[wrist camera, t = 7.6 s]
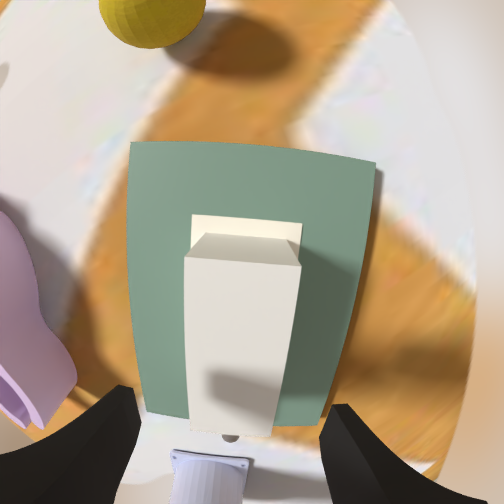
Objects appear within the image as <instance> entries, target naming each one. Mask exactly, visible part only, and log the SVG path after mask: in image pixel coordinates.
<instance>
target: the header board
mask: <svg viewBox="0 0 504 504" xmlns="http://www.w3.org/2000/svg"><path fill="white" fill-rule="evenodd" d="M375 168H376V163H375V162H370V161H365V160H360V159H355V158H350V157H344V156H339V155H333V154H326V153H320V152H313V151H306V150H299V149H291V148H282V147H273V146H262V145H251V144H238V143H221V142H194V141H148V142H131V145H130V156H129V169H128V187H127V266H128V284H129V297H130V309H131V318H132V327H133V336H134V343H135V350H136V357H137V363H138V369H139V375H140V381H141V386H142V391H143V396H144V401H145V405H146V410H147V412H151V413H156V414H161V415H167V416H172V417H178V418H184V419H189V407H188V394H187V378H186V359H185V332H184V257H185V255H186V254H187V253H188V252H189V251H190V250H191V248H192V247H193V246H194V245H195V244H196V243H197V241H198V240H199V239H200V238H201V237H202V236H203V235H204V233H205V232H206V233H219V234H232V235H244V236H256V237H268V238H279V239H286V240H287V242H288V243H289V245H290V247H291V249H292V250H293V252H294V254H295V256H296V257H297V259H298V261H299V263H300V264H301V266H302V268H301V275H300V282H299V288H298V295H297V301H296V308H295V314H294V320H293V326H292V332H291V337H290V343H289V349H288V354H287V359H286V365H285V370H284V375H283V380H282V385H281V390H280V395H279V400H278V404H277V409H276V414H275V418H274V423H273V426H313V425H317V424H318V422H319V419H320V416H321V414H322V411H323V408H324V405H325V403H326V400H327V397H328V394H329V391H330V388H331V385H332V382H333V379H334V376H335V372H336V369H337V366H338V363H339V359H340V356H341V352H342V349H343V345H344V342H345V338H346V334H347V330H348V327H349V323H350V319H351V315H352V310H353V306H354V302H355V297H356V293H357V288H358V284H359V279H360V274H361V269H362V263H363V258H364V252H365V247H366V241H367V234H368V228H369V221H370V214H371V206H372V198H373V189H374V179H375Z"/></svg>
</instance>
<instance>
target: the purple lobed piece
mask: <svg viewBox="0 0 504 504" xmlns="http://www.w3.org/2000/svg"><path fill="white" fill-rule="evenodd" d="M76 383H77V371H76V367H75V365H74V362H73V360H72V358H71V356H70V354H69V353H68V351H67V349H66V348H65V346H64V345H63V344H62V342H61V341H60V340H59V339H58V338H57V337H56V335H55V334H54V333H53V332H52V331H51V330H50V329H49V327H48V326H47V324H46V323H45V321H44V319H43V317H42V314H41V311H40V306H39V292H38V284H37V279H36V274H35V270H34V267H33V263H32V260H31V257H30V254H29V251H28V249H27V246H26V244H25V242H24V240H23V238H22V236H21V234H20V232H19V230H18V229H17V227H16V226H15V224H14V223H13V222H12V220H11V219H10V218H9V217H8V216H7V215H6V214H5V213H3V212H2V211H0V409H1V410H2V411H3V412H4V413H5V414H6V415H7V416H8V417H9V418H10V419H12V420H13V421H14V422H15V423H17V424H18V425H19V426H21V427H22V428H24V429H26V428H27V427H28V425H29V424H30V423H31V421H32V422H33V423H34V424H35V425H36V426H37V427H39V428H40V429H44V428H45V426H46V425H47V423H48V422H49V421H50V419H51V418H52V416H53V415H54V413H55V412H56V411H57V409H58V408H59V406H60V405H61V404H62V402H63V401H64V400H65V398H66V397H67V395H68V394H69V393H70V391H71V390H72V389H73V387H74V386H75V385H76Z"/></svg>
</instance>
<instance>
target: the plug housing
mask: <svg viewBox="0 0 504 504" xmlns="http://www.w3.org/2000/svg"><path fill="white" fill-rule="evenodd" d="M301 268H302V266H301V264H300V263H299V261H298V259H297V257H296V256H295V254H294V252H293V250H292V249H291V247H290V245H289V243H288V242H287V240H286V239H279V238H268V237H256V236H244V235H232V234H219V233H206V232H205V233H204V235H203V236H202V237H201V238H200V239H199V240H198V241H197V243H196V244H195V245H194V246H193V247H192V248H191V250H190V251H189V252H188V253H187V254H186V255H185V257H184V332H185V359H186V378H187V394H188V407H189V419H190V429H191V431H198V432H206V433H215V434H222V438H223V439H224V440H225V441H226V442H229V443H232V442H235V441H237V440H238V438H239V436H256V437H270V436H271V431H272V427H273V423H274V418H275V414H276V409H277V404H278V400H279V395H280V390H281V385H282V380H283V375H284V370H285V365H286V359H287V354H288V349H289V343H290V337H291V332H292V326H293V320H294V314H295V308H296V301H297V295H298V288H299V282H300V275H301Z"/></svg>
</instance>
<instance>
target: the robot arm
mask: <svg viewBox="0 0 504 504" xmlns="http://www.w3.org/2000/svg"><path fill="white" fill-rule="evenodd" d="M141 423H142V422H141V419H140V415H139V411H138V407H137V403H136V399H135V394H134V390H133V388H130V387H126V386H122V385H117V386H116V387H115V388H114V389H112V390H111V391H110V392H109V393H107V394H106V395H105V396H104V397H103V398H101V399H100V400H99V401H98V402H97V403H95V404H94V405H93V406H92V407H90V408H89V409H88V410H87V411H85V412H84V413H83V414H81V415H80V416H79V417H77V418H76V419H75V420H73V421H72V422H70V423H69V424H67V425H66V426H64V427H63V428H61V429H60V430H58V431H57V432H55V433H53V434H51V435H50V436H48V437H46V438H44V439H42V440H40V441H38V442H36V443H33V444H31V445H29V446H26V447H24V448H21V449H18V450H16V451H12V452H9V453H5V454H1V455H0V504H113V503H114V500H115V496H116V492H117V489H118V486H119V484H120V481H121V479H122V477H123V474H124V472H125V469H126V467H127V464H128V462H129V460H130V457H131V455H132V452H133V450H134V448H135V445H136V442H137V438H138V435H139V431H140V427H141ZM319 441H320V451H321V458H322V463H323V467H324V471H325V475H326V479H327V483H328V486H329V490H330V494H331V498H332V502H333V504H488V503H487V501H484V500H480V499H476V498H472V497H468V496H465V495H462V494H459V493H456V492H454V491H452V490H449V489H447V488H445V487H443V486H441V485H439V484H437V483H435V482H433V481H432V480H430V479H428V478H426V477H425V476H423V475H422V474H420V473H419V472H417V471H416V470H414V469H413V468H412V467H410V466H409V465H407V464H406V463H405V462H404V461H402V460H401V459H400V458H399V457H398V456H397V455H395V454H394V453H393V452H392V451H391V450H390V449H389V448H388V447H387V446H386V445H385V444H384V443H383V442H382V441H381V440H380V439H379V438H378V437H377V436H376V435H375V434H374V433H373V432H372V431H371V430H370V429H369V427H368V426H367V425H366V424H365V423H364V422H363V421H362V420H361V418H360V417H359V416H358V415H357V414H356V413H355V412H354V410H353V409H352V408H351V407H350V406H349V405H348V404H333V405H332V406H331V409H330V411H329V414H328V417H327V419H326V422H325V424H324V427H323V429H322V431H321V434H320V436H319ZM170 458H171V462H172V466H173V470H174V474H175V477H174V482H173V486H172V492H171V496H170V500H169V504H242V495H243V494H244V489H245V484H246V478H247V473H248V467H249V460H248V459H245V458H230V457H219V456H209V455H201V454H194V453H187V452H181V451H175V450H171V451H170Z"/></svg>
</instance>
